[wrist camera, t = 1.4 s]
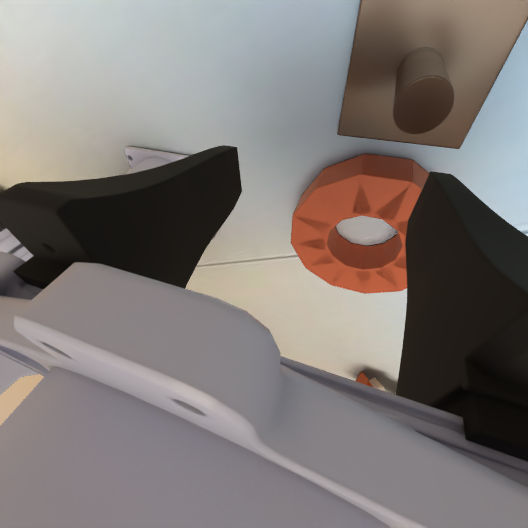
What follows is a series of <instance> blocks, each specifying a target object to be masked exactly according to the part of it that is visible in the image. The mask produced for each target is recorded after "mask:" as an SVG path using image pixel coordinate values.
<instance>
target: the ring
mask: <svg viewBox="0 0 528 528" xmlns="http://www.w3.org/2000/svg"><path fill="white" fill-rule="evenodd" d="M428 176H429V173H428V172H427V171H426V170H424V169H423V168H422V167H421V166H420V165H418V164H417V163H416V162H415V161H414V160H411V159H403V158H396V157H388V156H380V155H372V154H362V155H360V156H357V157H354V158H352V159H349V160H346V161H343V162H341V163H338V164H335V165H332V166H330V167H327V168H325V169H323V171H322V172H321V173H320V174H319V175H318V176H317V178H316V179H315V180H314V181H313V182H312V184H311V185H310V186H309V187H308V188H307V190H306V191H305V192H304V193H303V194H302V196H301V199H300V201H299V203H298V205H297V207H296V209H295V211H294V213H293V219H292V233H291V244H292V246H293V248H294V249H295V251H296V253H297V254H298V256H299V258H300V259H301V261H302V263H303V265H304V266H305V267H306V268H307V269H308V270H310V271H311V272H313V273H314V274H315V275H317V276H318V277H320V278H321V279H323V280H324V281H326V282H327V283H329V284H330V285H333V286H337V287H341V288H345V289H349V290H353V291H357V292H360V293H379V292H395V291H402V290H404V289H406V288H407V272H406V248H405V241H406V232H407V224H408V219H409V217H410V215H411V213H412V210H413V208H414V206H415V204H416V202H417V200H418V197H419V195H420V193H421V191H422V189H423V187H424V184H425V182H426V180H427V178H428ZM361 215H363V216H368V217H374V218H379V219H383V220H384V221H385V222H387V223H388V224H389V225H391V226H392V227H393V228H395V229H396V230H397V231H398V233H397V235H396V236H394V237H393V238H391V239H390V240H388V241H387V242H385V243H384V244H378V245H372V246H362V245H358V244H353V243H350V242H349V241H347V240H346V239H344V238H343V237H342V236H340V235H339V234H338V232H337V230H336V227H335V226H336V225H337V224H338V223H339V222H340V221H341V220H344V219H348V218H352V217H356V216H361Z"/></svg>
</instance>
